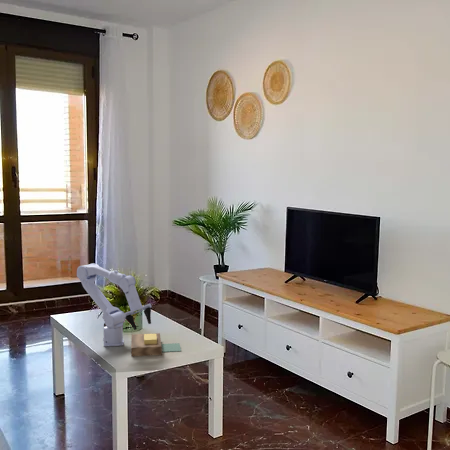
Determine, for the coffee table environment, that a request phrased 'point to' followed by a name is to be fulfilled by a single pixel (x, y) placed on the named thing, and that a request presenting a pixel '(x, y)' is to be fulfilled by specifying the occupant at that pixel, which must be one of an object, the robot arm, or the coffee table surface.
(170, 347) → the mat
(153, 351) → the deck
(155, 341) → the yellow rectangular block
